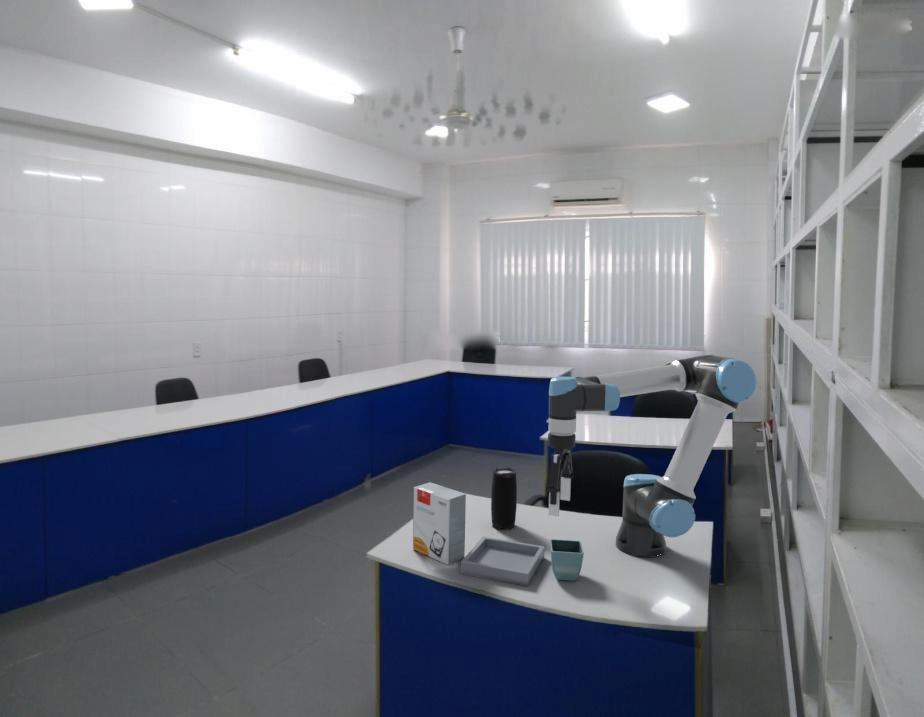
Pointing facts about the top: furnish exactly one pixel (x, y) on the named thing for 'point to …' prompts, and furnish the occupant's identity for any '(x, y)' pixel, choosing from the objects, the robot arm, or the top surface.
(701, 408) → the robot arm
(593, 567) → the top surface
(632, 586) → the top surface
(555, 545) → the flower pot
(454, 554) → the hard drive box
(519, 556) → the tray
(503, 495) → the portable speaker
